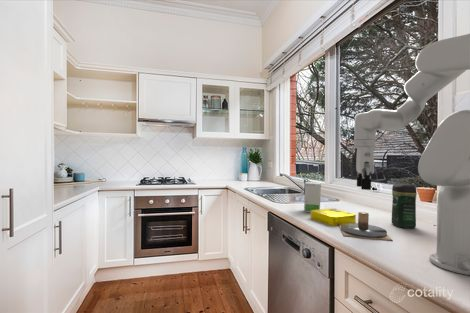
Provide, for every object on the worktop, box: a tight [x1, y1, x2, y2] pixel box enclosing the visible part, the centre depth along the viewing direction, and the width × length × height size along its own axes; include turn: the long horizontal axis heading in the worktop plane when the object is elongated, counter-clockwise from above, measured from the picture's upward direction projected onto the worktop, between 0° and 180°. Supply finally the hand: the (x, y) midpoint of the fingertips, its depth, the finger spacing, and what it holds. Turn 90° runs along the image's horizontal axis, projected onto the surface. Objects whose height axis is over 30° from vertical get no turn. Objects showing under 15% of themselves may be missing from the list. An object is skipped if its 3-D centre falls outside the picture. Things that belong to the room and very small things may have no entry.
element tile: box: [310, 207, 357, 227], centre depth 118 cm, size 15×15×5 cm
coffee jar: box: [391, 182, 418, 229], centre depth 110 cm, size 10×8×19 cm
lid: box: [340, 211, 388, 238], centre depth 100 cm, size 16×16×7 cm
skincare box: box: [303, 181, 322, 213], centre depth 137 cm, size 8×7×16 cm
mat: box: [338, 224, 393, 242], centre depth 100 cm, size 16×16×1 cm
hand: (363, 188), depth 100 cm, fingers open, 9 cm apart
